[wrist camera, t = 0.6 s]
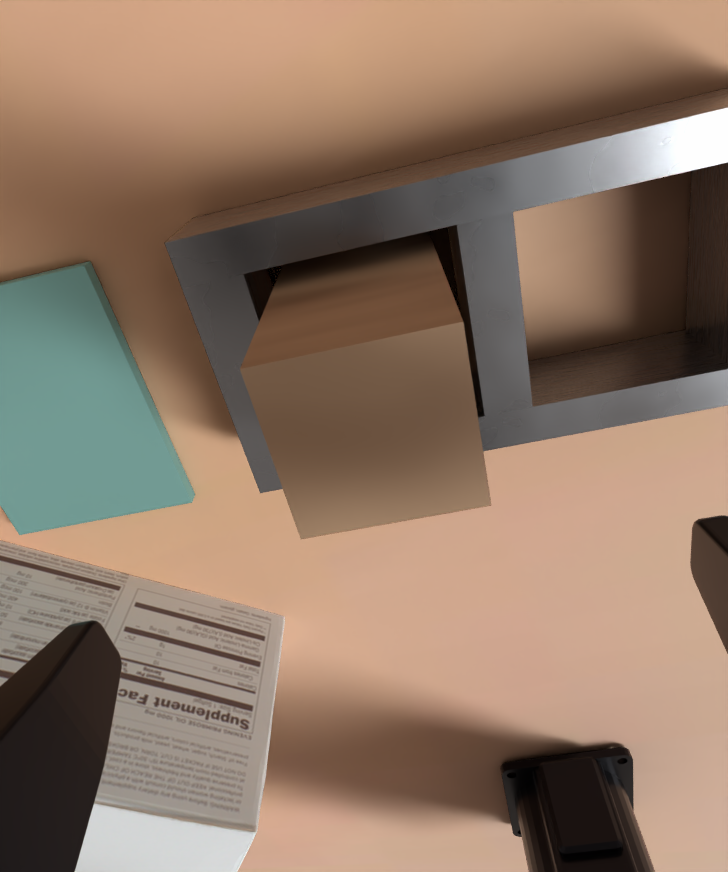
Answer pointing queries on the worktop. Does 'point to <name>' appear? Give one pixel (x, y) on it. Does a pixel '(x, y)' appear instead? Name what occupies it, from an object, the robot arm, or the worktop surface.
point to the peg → (367, 389)
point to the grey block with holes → (491, 270)
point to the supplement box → (159, 708)
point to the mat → (76, 410)
